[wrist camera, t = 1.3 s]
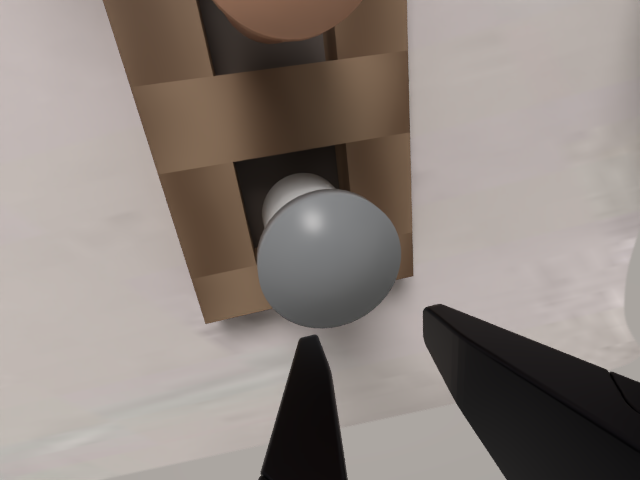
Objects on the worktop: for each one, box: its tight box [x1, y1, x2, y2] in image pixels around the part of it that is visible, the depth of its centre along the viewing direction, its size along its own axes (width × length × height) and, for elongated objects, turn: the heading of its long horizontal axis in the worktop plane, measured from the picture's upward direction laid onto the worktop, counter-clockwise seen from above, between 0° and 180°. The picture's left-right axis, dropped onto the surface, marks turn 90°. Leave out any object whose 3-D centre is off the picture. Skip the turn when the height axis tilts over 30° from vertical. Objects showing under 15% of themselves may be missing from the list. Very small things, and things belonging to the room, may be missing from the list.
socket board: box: [103, 0, 413, 324], centre depth 17 cm, size 12×20×2 cm, turn 7°
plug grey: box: [257, 173, 401, 328], centre depth 14 cm, size 5×5×6 cm
